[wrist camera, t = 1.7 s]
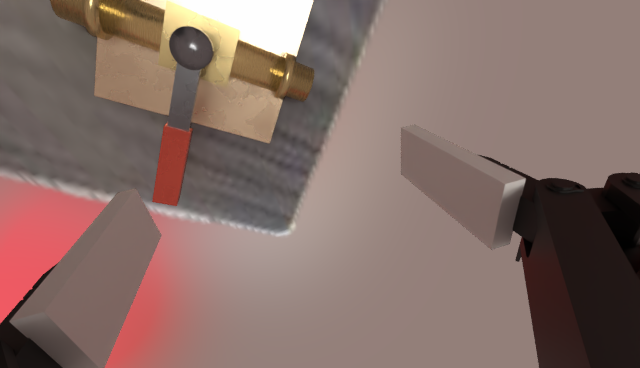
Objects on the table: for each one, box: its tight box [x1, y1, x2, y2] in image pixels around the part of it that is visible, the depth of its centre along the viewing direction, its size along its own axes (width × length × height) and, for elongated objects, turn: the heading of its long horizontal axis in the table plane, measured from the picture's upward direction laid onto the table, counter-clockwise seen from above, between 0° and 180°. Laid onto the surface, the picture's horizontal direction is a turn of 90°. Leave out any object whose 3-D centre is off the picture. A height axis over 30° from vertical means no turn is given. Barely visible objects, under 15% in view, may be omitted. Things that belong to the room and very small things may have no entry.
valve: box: [50, 0, 314, 143], centre depth 28 cm, size 24×18×10 cm
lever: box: [152, 26, 214, 206], centre depth 25 cm, size 17×3×2 cm, turn 159°
